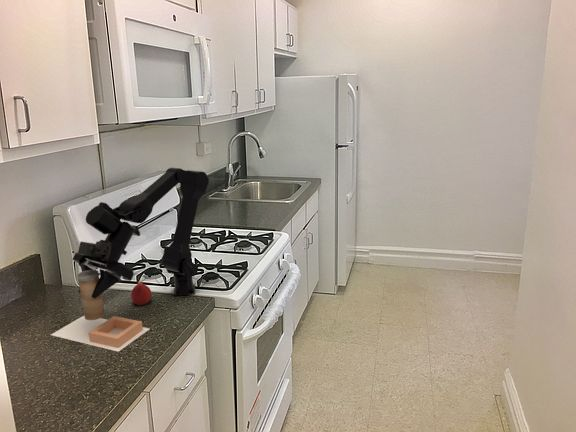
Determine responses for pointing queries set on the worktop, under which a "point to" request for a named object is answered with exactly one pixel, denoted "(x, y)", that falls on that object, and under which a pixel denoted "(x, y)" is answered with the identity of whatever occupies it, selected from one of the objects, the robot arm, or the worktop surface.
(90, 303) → the gray-capped wooden tube
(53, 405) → the worktop surface
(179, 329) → the worktop surface
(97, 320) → the mount board
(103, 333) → the socket
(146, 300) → the red oval fruit
